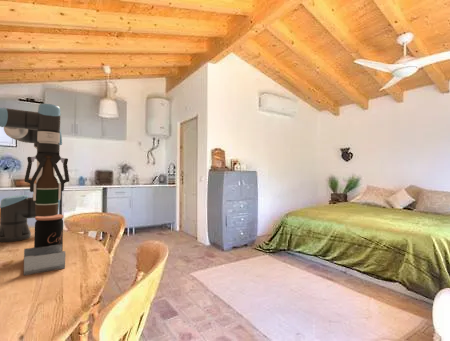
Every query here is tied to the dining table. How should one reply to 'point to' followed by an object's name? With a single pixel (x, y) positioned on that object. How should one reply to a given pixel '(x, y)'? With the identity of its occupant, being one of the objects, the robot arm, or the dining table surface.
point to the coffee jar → (48, 230)
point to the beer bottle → (47, 191)
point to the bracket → (43, 259)
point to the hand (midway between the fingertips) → (47, 199)
